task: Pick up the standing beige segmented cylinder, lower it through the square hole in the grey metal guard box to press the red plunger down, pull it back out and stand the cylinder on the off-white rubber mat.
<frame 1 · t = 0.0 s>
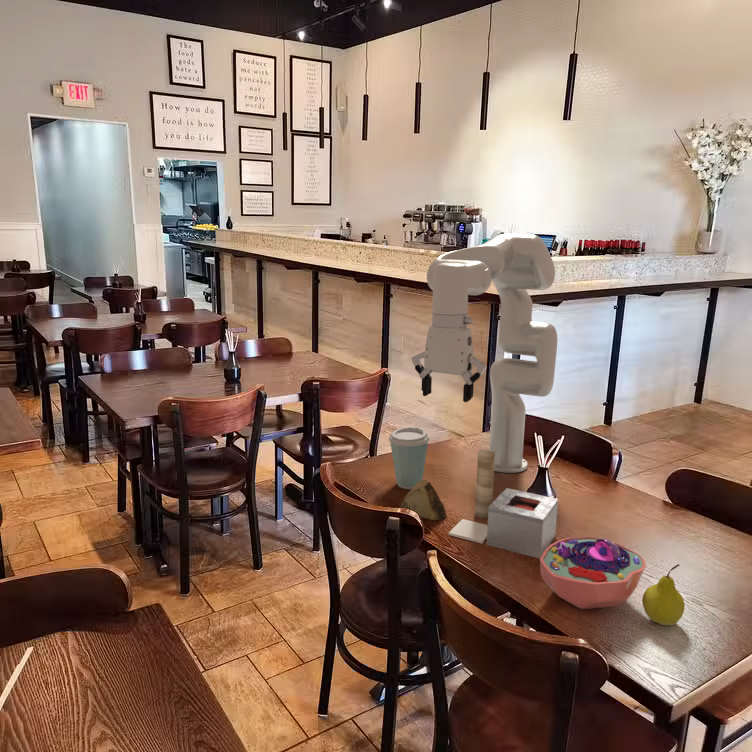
hand: (446, 397, 146), 31 cm above the table, fingers open, 9 cm apart
disposable coffee cup: (408, 485, 177), on the table
plunger: (523, 515, 146), point 6 cm above the table, slide at 0.0 cm
beige segmented cylinder: (483, 514, 160), on the table
rock: (422, 514, 160), on the table
fruit: (660, 622, 118), on the table
cell model: (587, 599, 125), on the table
guard box: (521, 540, 147), on the table
mat: (471, 532, 151), on the table
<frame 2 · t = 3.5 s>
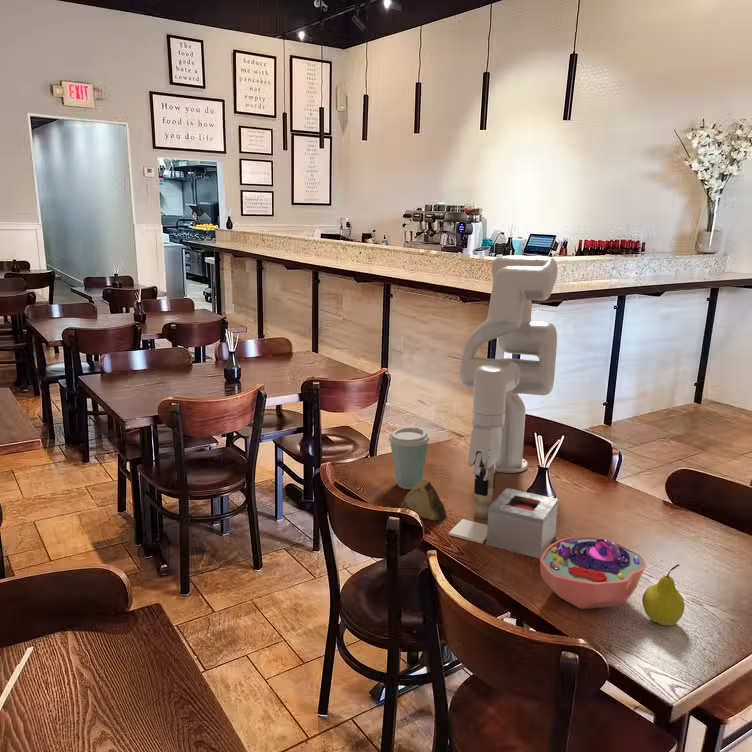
hand: (484, 490, 158), 6 cm above the table, fingers closed on beige segmented cylinder, 4 cm apart
beige segmented cylinder: (483, 514, 160), on the table, touching gripper
everything else where it was.
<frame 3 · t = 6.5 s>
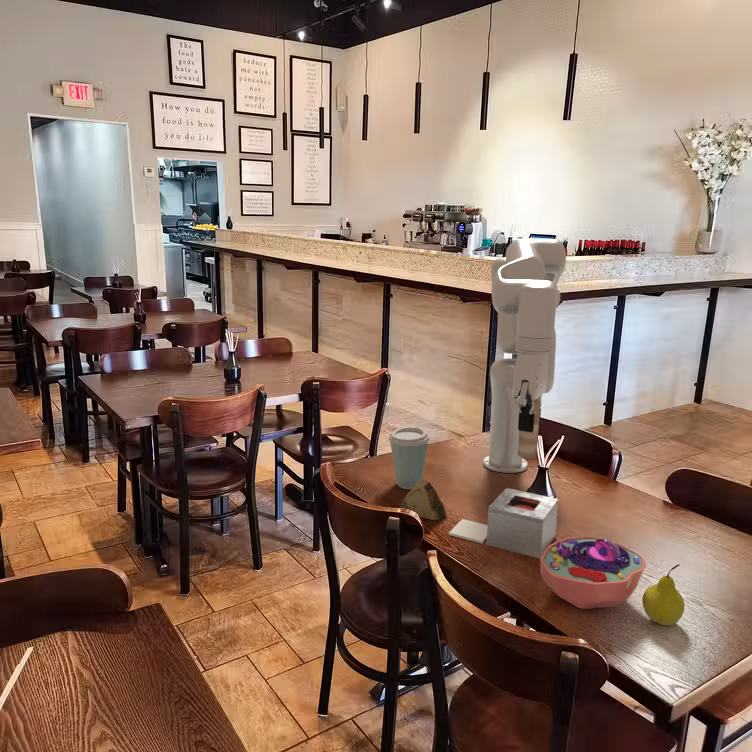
hand: (528, 427, 141), 27 cm above the table, fingers closed on beige segmented cylinder, 4 cm apart
beige segmented cylinder: (527, 455, 142), point 20 cm above the table, touching gripper
everything else where it was.
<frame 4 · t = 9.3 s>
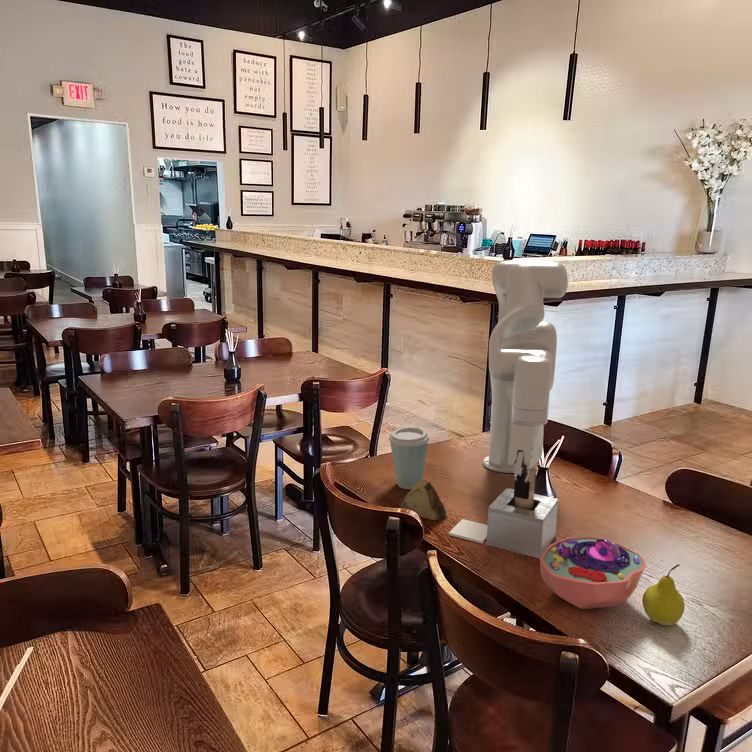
hand: (524, 493, 144), 11 cm above the table, fingers closed on beige segmented cylinder, 4 cm apart
plunger: (522, 525, 146), point 3 cm above the table, slide at 2.4 cm, touching beige segmented cylinder
beige segmented cylinder: (522, 519, 146), point 5 cm above the table, touching gripper, plunger
everything else where it was.
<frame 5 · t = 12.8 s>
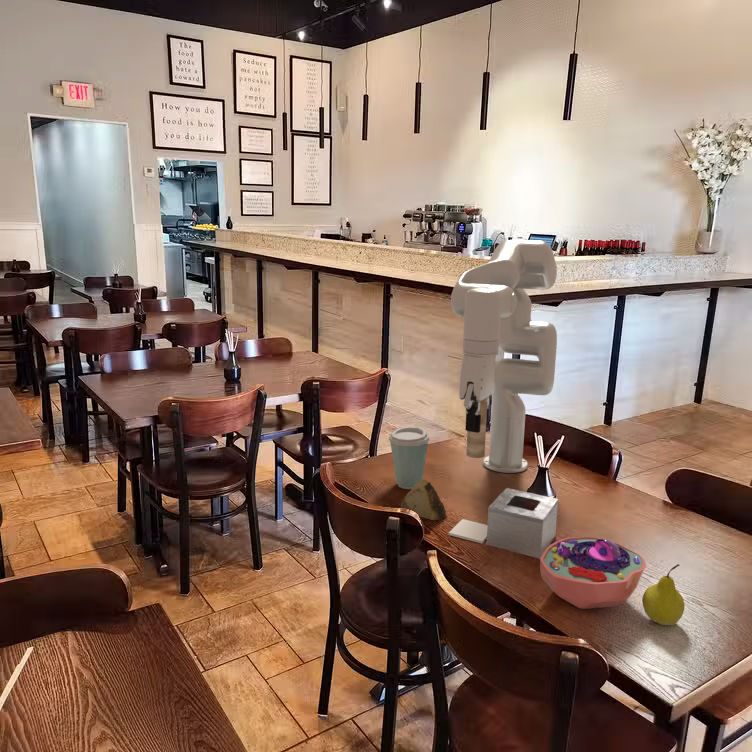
hand: (476, 427, 145), 25 cm above the table, fingers closed on beige segmented cylinder, 4 cm apart
plunger: (522, 526, 146), point 3 cm above the table, slide at 2.5 cm
beige segmented cylinder: (475, 454, 146), point 19 cm above the table, touching gripper
everything else where it was.
when the fingers open (8 cm above the table, at t = 16.0 s): beige segmented cylinder stays where it is, resting on mat.
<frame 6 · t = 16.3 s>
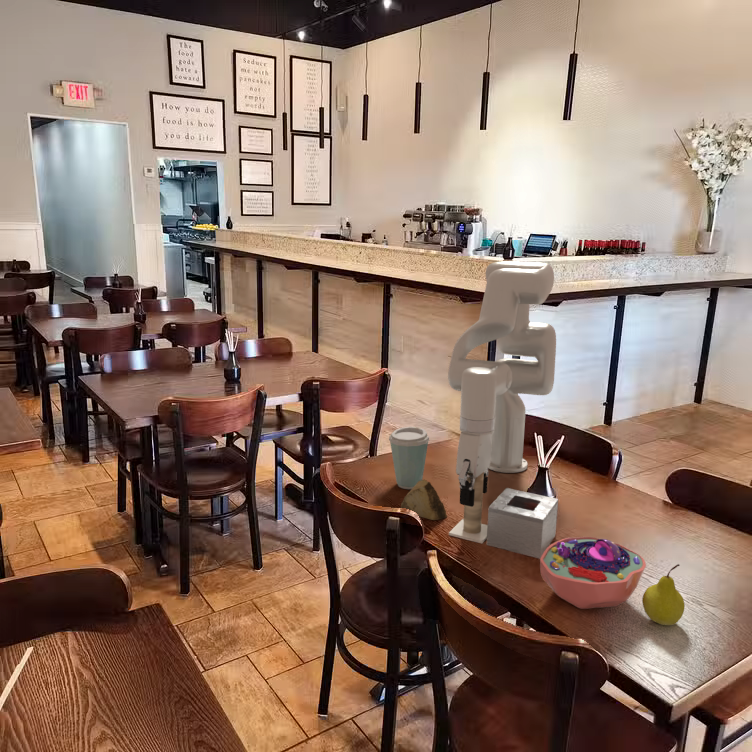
hand: (473, 497, 149), 8 cm above the table, fingers open, 7 cm apart
beige segmented cylinder: (472, 529, 151), point 1 cm above the table, touching mat
everything else where it was.
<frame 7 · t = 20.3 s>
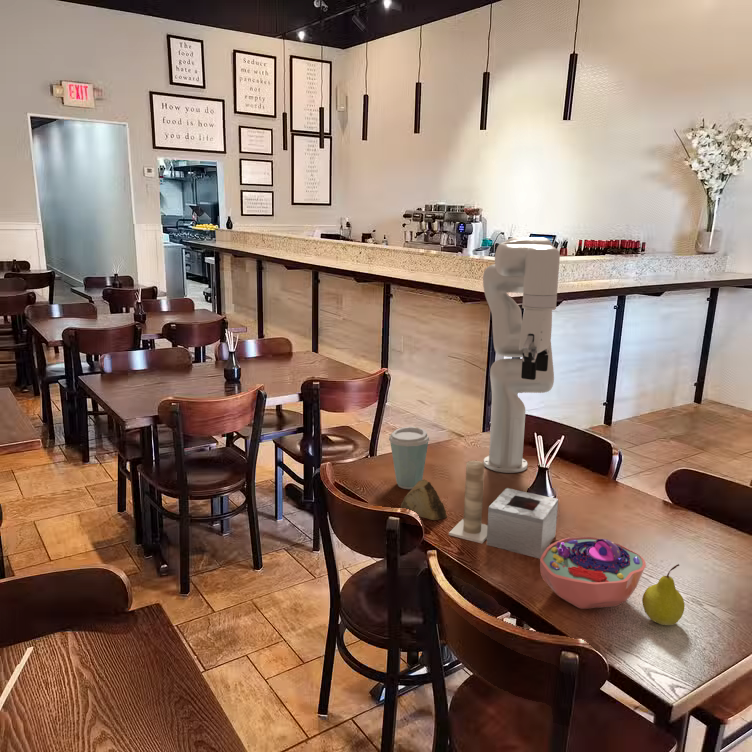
hand: (534, 374, 155), 34 cm above the table, fingers open, 9 cm apart
nothing on the table moved.
at the end: plunger slide at 2.5 cm; beige segmented cylinder inside the target area on the mat (0.0 cm from its centre), point 0.6 cm above the mat's base; beige segmented cylinder tilted 0° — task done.
